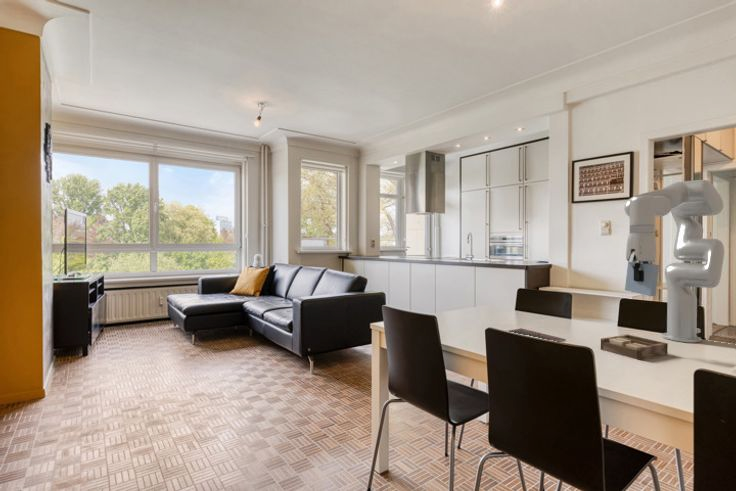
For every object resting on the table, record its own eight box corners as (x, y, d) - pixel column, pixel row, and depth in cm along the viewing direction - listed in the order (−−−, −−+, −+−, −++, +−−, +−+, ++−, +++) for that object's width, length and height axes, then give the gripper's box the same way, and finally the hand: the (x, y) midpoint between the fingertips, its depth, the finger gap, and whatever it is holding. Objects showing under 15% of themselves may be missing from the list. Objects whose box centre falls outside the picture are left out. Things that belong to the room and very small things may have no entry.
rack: (627, 347, 150) (627, 334, 150) (667, 357, 137) (667, 343, 137) (600, 352, 144) (600, 338, 144) (639, 363, 131) (640, 348, 131)
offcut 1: (618, 348, 145) (618, 337, 145) (630, 351, 141) (631, 340, 141) (609, 349, 143) (609, 339, 143) (621, 353, 139) (621, 342, 139)
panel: (630, 289, 147) (633, 261, 146) (655, 295, 139) (659, 265, 138) (624, 290, 146) (628, 261, 145) (650, 296, 138) (653, 265, 137)
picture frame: (494, 338, 168) (537, 350, 149) (494, 332, 168) (537, 344, 149) (521, 333, 176) (565, 344, 157) (521, 327, 176) (565, 338, 157)
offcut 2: (634, 352, 140) (634, 342, 140) (648, 356, 136) (648, 346, 136) (625, 354, 138) (625, 344, 138) (639, 357, 134) (639, 347, 134)
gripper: (645, 230, 148) (645, 279, 149) (616, 230, 142) (616, 281, 142) (667, 230, 141) (666, 280, 142) (638, 230, 135) (637, 283, 135)
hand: (641, 280), depth 142 cm, fingers closed on panel, 2 cm apart
